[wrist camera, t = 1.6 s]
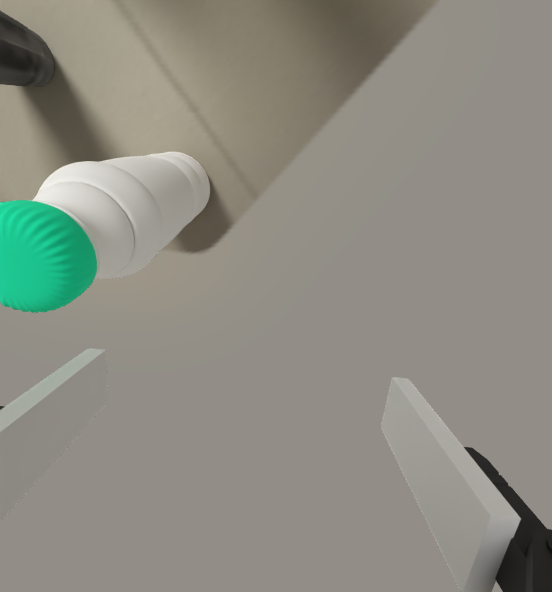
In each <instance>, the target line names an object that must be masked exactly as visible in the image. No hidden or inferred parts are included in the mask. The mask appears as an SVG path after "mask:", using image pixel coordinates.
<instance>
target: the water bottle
mask: <svg viewBox="0 0 552 592" xmlns="http://www.w3.org/2000/svg"><path fill="white" fill-rule="evenodd" d="M209 196H210V183H209V179H208V176H207V174H206V172H205V170H204V169H203V167H202V166H201V165H200V164H199V163H198V162H197V161H196V160H195V159H193V158H192V157H190V156H188V155H186V154H184V153H180V152H165V153H161V154H150V155H147V156H132V157H122V158H115V159H109V160H104V161H100V162H96V161H83V162H76V163H72V164H69V165H66V166H64V167H61V168H60V169H58V170H56V171H55V172H53V173H52V174H51V175H50V176H49V177H48V178H47V179H46V180H45V181H44V183H43V184H42V186H41V188H40V189H39V192H38V194H37V195H36V197H35V198H34V199H33V200H17V201H8V202H2V203H0V302H1V303H2V305H4V306H6V307H11V308H13V309H15V310H19V309H20V310H21V311H24V312H28V311H30V312H47V311H49V310H55V309H58V308H60V307H62V306H65V305H67V304H68V303H70V302H71V301H73V300H74V299H75V298H77V297H78V296H80V295H81V294H82V293H83V292H84V291H85V290H86V289H87V288H88V287H89V286H90V285H91V284H92V282H93V280H94V279H98V278H120V277H125V276H128V275H131V274H133V273H136V272H138V271H140V270H141V269H143V268H144V267H145V266H147V265H148V264H149V263H150V262H151V261H152V260H153V258H154V257H155V256H156V254H157V252H159V251H160V250H162V249H163V248H164V247H165V246H166V245H167V244H169V243H170V242H171V241H172V240H173V239H174V238H175V237H176V236H177V235H178V234H179V233H180V231H181V230H182V229H183V228H184V227H185V226H186V225H187V224H189V223H190V222H191V221H192V220H193V219H194V218H195V216H197V215H198V214H199V213H200V212H201V211H202V210H203V209H204V208H205V206H206V205H207V203H208V200H209Z"/></svg>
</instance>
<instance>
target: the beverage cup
mask: <svg viewBox="0 0 552 592" xmlns="http://www.w3.org/2000/svg"><path fill="white" fill-rule="evenodd" d="M53 72H54V60H53V57H52V54H51V51H50V50H49V48H48V46H47V45H46V43H45V42H44V41H43V40H42V38H41V37H40V36H39V35H37V34H36V33H34V32H33V31H31V30H30V29H28V28H27V27H26V26H24V25H23V24H21V23H20V22H18V21H16V20H15V19H13V18H11V17H10V16H8V15H6V14H5V13H3V12H2V11H0V84H5V85H16V86H43V85H45V84H47V83H48V82H49V81H50V80H51V78H52V77H53Z"/></svg>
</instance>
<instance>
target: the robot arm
mask: <svg viewBox="0 0 552 592" xmlns="http://www.w3.org/2000/svg"><path fill="white" fill-rule="evenodd" d="M107 404H108V390H107V370H106V350H101V349H91V348H88V349H87V350H85V351H84V352H83V353H81V354H80V355H78V356H77V357H75V358H74V359H72V360H71V361H70V362H68V363H67V364H66V365H64V366H62V367H61V368H60V369H58V370H57V371H55V372H54V373H53V374H51V375H50V376H48V377H47V378H46V379H44V380H43V381H41V382H40V383H38V384H37V385H36V386H34V387H33V388H31V389H30V390H28V391H27V392H25V393H24V394H23V395H21V396H20V397H18V398H17V399H15V400H14V401H13V402H11V403H10V404H8V405H7V406H5V407H3V406H0V522H1V521H2V520H3V519H4V517H5V516H6V515H7V514H8V513H9V512H10V511H11V510H12V509H13V508H14V507H15V505H16V504H17V503H18V502H19V501H20V500H21V499H22V498H23V496H24V495H25V494H26V493H27V492H28V491H29V490H30V489H31V488H32V487H33V485H34V484H35V483H36V482H37V481H38V480H39V479H40V478H41V477H42V476H43V474H44V473H45V472H46V471H47V470H48V469H49V468H50V467H51V465H52V464H53V463H54V462H55V461H56V460H57V459H58V458H59V457H60V456H61V455H62V453H63V452H64V451H65V450H66V449H67V448H68V447H69V446H70V445H71V443H72V442H73V441H74V440H75V439H76V438H77V437H78V436H79V435H80V433H81V432H82V431H83V430H84V429H85V428H86V427H87V426H88V425H89V423H90V422H91V421H92V420H93V419H94V418H95V417H96V416H97V415H98V414H99V412H100V411H101V410H102V409H103V408H104V407H105V406H106V405H107ZM381 430H382V432H383V434H384V436H385V438H386V440H387V442H388V444H389V446H390V448H391V450H392V452H393V454H394V456H395V458H396V460H397V463H398V465H399V466H400V468H401V471H402V473H403V475H404V477H405V479H406V481H407V483H408V485H409V487H410V489H411V491H412V493H413V495H414V497H415V499H416V502H417V504H418V505H419V507H420V510H421V511H422V513H423V516H424V518H425V520H426V522H427V524H428V526H429V528H430V530H431V532H432V534H433V536H434V538H435V540H436V543H437V545H438V547H439V549H440V551H441V553H442V555H443V557H444V559H445V561H446V563H447V565H448V567H449V569H450V571H451V573H452V575H453V578H454V580H455V581H456V584H457V586H458V587H459V590H460V592H491V591H492V589H493V587H494V584H495V581H497V583H498V584H499V586H500V588H501V589H502V591H503V592H552V530H549V529H547V528H546V527H545V526H544V525H543V524H542V523H541V521H540V520H539V519H538V518H537V517H536V515H535V514H534V513H533V512H532V511H531V510H530V508H528V506H527V505H526V504H525V503H524V502H523V500H522V499H521V498H520V497H519V496H518V495H517V494H516V492H515V491H514V490H513V489H512V488H511V487H509V486H508V483H507V482H506V481H505V479H504V478H503V477H502V476H501V475H499V473H498V471H497V470H496V469H495V468H494V467H493V466H492V464H491V463H490V462H489V461H488V460H487V459H486V458H485V457H483V456H482V455H481V454H479V453H478V452H477V451H475V450H474V449H473V448H469V447H463V446H462V445H461V444H460V442H459V441H458V440H457V439H456V437H455V436H454V435H453V434H452V432H451V431H450V430H449V429H448V427H447V426H446V425H445V424H444V422H443V421H442V420H441V419H440V418H439V416H438V415H437V414H436V412H435V411H434V410H433V409H432V407H430V405H429V404H428V403H427V401H426V400H425V399H424V398H423V396H422V395H421V394H420V393H419V391H418V390H417V389H416V388H415V386H414V385H413V384H412V383H411V382H410V380H409V379H406V378H396V377H392V380H391V384H390V388H389V393H388V398H387V402H386V406H385V410H384V415H383V419H382V424H381Z"/></svg>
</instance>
